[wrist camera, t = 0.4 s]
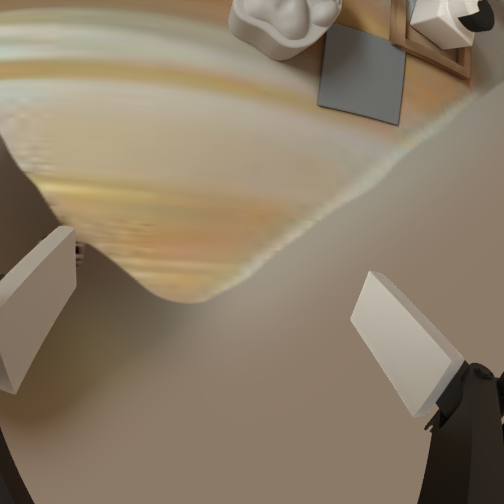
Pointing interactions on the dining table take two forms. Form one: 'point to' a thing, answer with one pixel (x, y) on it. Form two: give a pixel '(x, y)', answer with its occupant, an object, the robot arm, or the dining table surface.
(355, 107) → the mat
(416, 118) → the dining table surface
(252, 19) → the lumpy-topped squat cylinder
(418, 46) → the pocket
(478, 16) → the medicine bottle
